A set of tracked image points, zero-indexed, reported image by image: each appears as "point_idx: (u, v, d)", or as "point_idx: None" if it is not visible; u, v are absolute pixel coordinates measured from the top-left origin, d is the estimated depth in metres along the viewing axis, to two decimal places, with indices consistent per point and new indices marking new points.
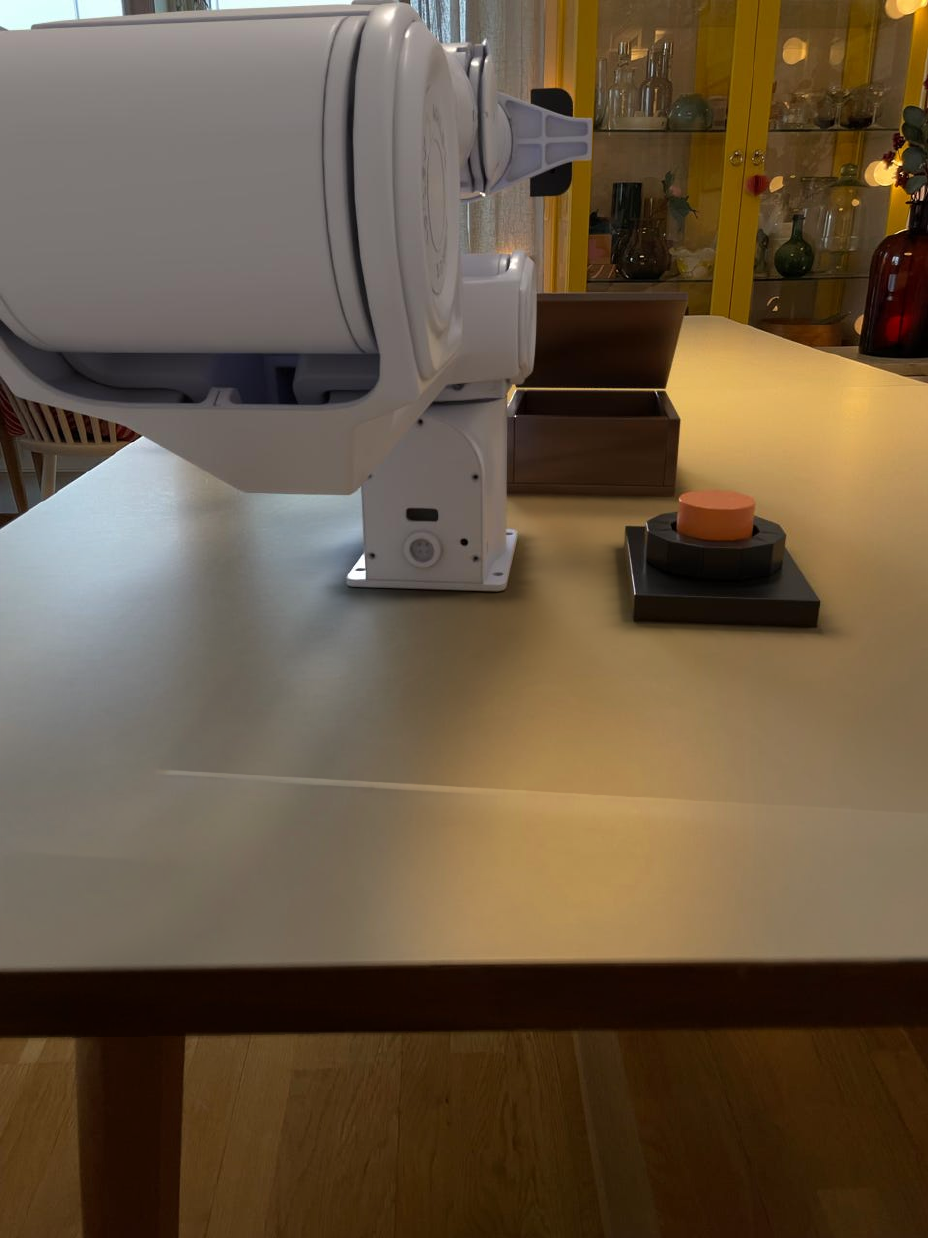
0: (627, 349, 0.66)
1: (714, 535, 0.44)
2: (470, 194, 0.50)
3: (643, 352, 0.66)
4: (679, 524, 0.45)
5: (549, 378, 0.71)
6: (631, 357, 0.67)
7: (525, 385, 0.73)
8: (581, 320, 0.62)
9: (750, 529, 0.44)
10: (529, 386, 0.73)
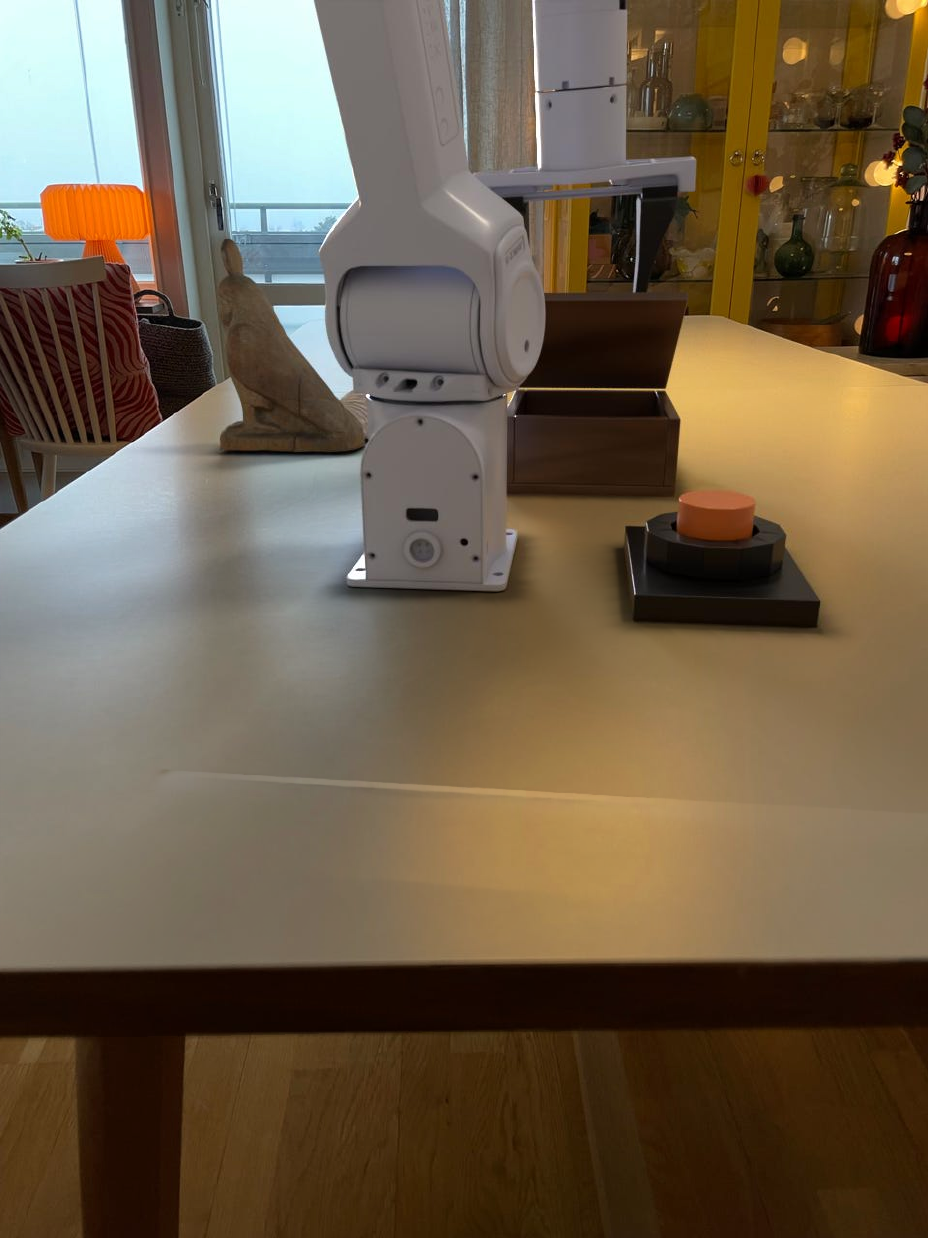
0: (627, 349, 0.66)
1: (714, 535, 0.44)
2: (595, 101, 0.57)
3: (643, 352, 0.66)
4: (679, 524, 0.45)
5: (549, 378, 0.71)
6: (631, 357, 0.67)
7: (525, 385, 0.73)
8: (581, 320, 0.62)
9: (750, 529, 0.44)
10: (529, 386, 0.73)
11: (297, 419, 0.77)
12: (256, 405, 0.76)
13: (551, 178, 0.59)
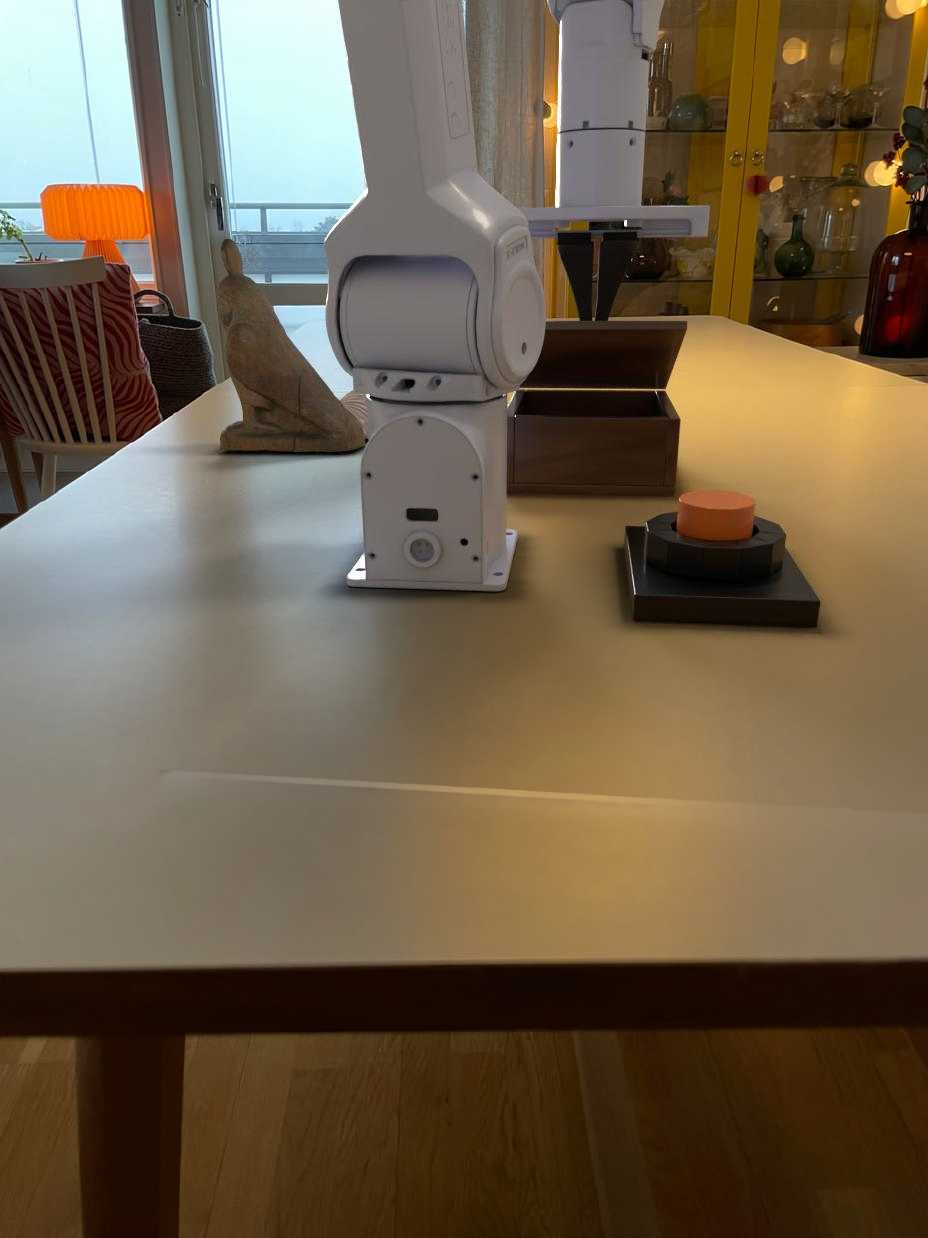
0: (627, 362, 0.66)
1: (714, 535, 0.44)
2: (615, 141, 0.59)
3: (643, 365, 0.66)
4: (679, 524, 0.45)
5: (549, 381, 0.71)
6: (631, 368, 0.67)
7: (525, 386, 0.73)
8: (580, 342, 0.62)
9: (750, 529, 0.44)
10: (529, 387, 0.73)
11: (297, 419, 0.77)
12: (256, 405, 0.76)
13: (568, 213, 0.61)
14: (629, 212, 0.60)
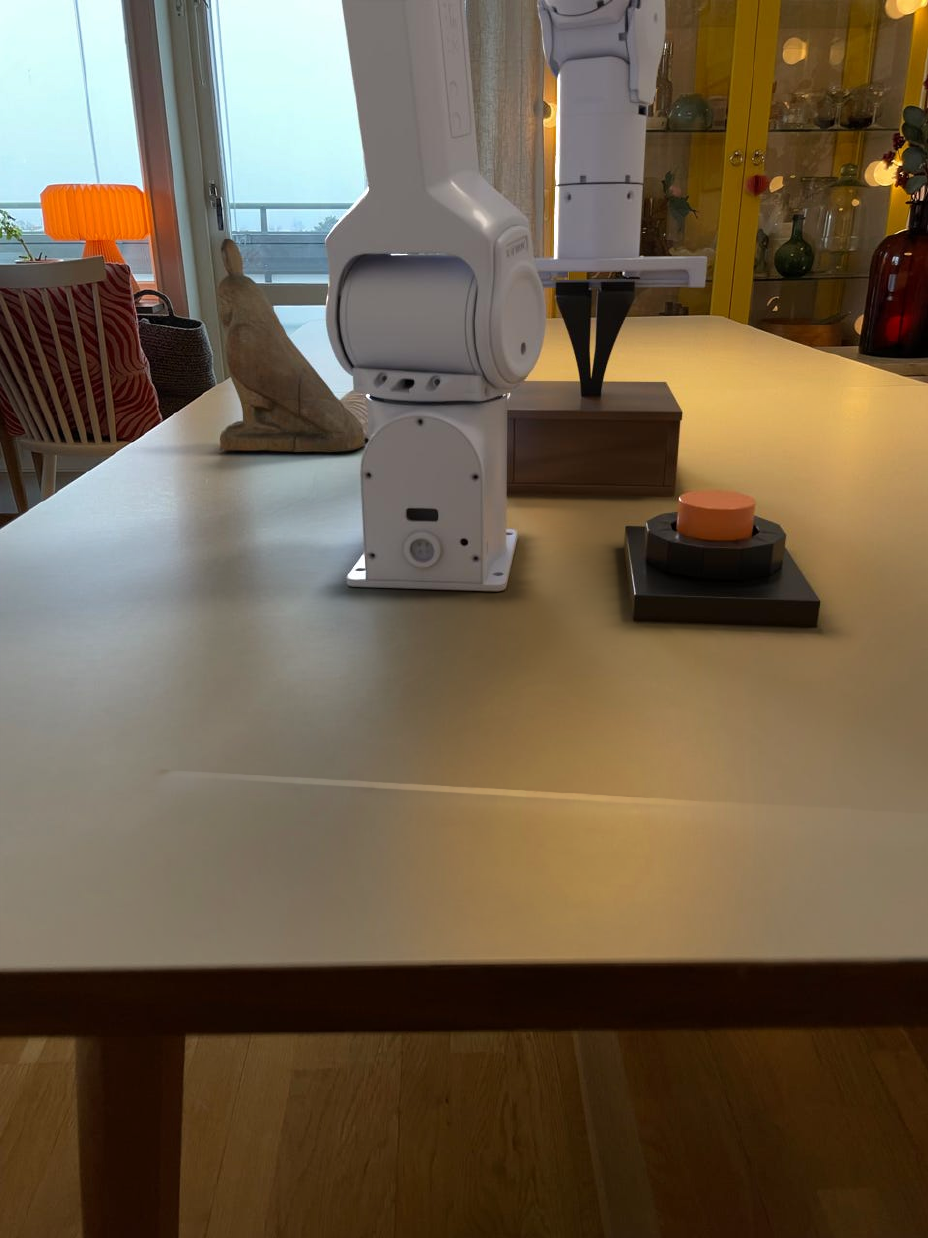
0: None
1: (714, 535, 0.44)
2: (613, 195, 0.59)
3: None
4: (679, 524, 0.45)
5: None
6: None
7: None
8: None
9: (750, 529, 0.44)
10: None
11: (297, 419, 0.77)
12: (256, 405, 0.76)
13: (567, 265, 0.61)
14: (627, 264, 0.61)
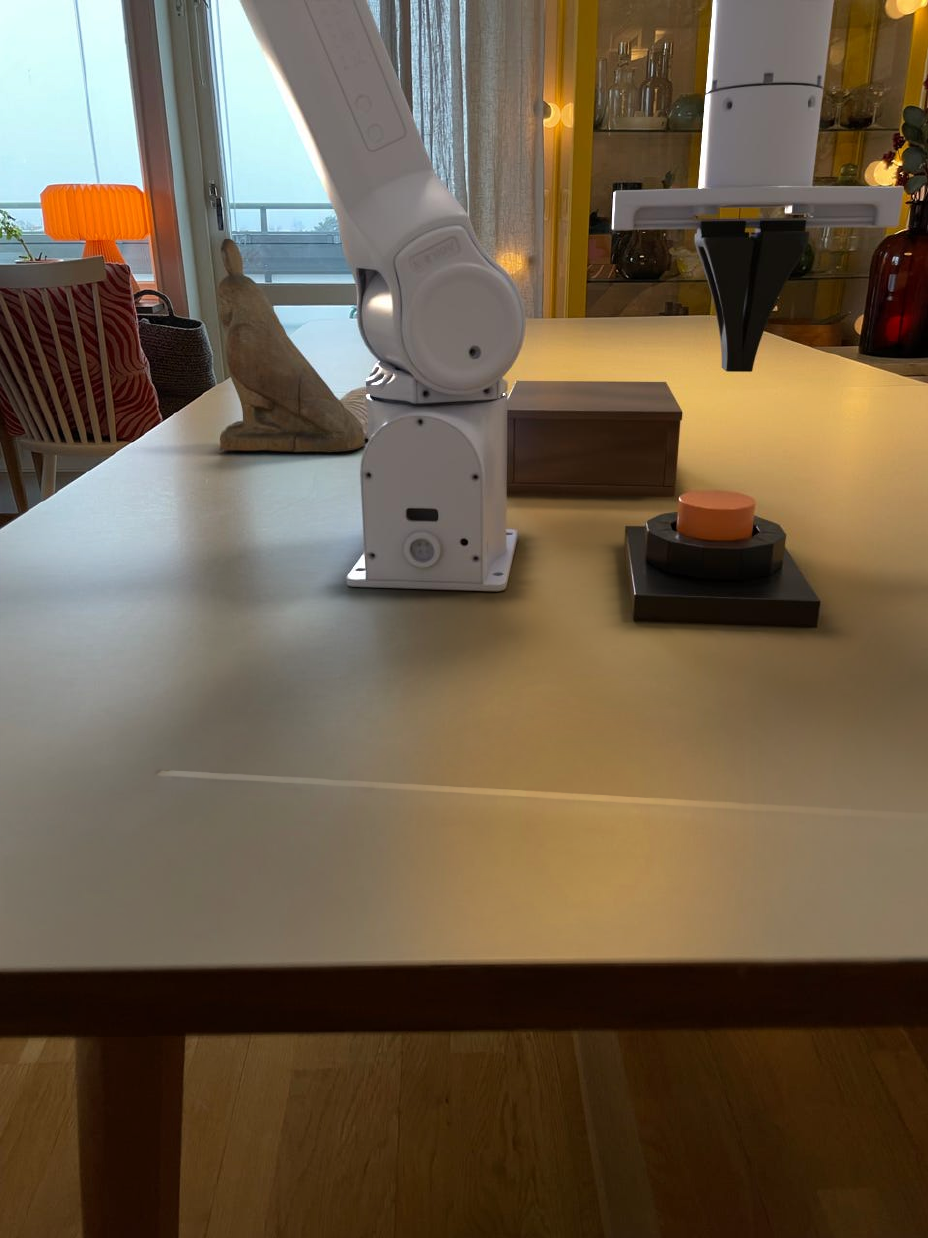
0: None
1: (714, 535, 0.44)
2: (791, 101, 0.45)
3: None
4: (679, 524, 0.45)
5: None
6: None
7: None
8: None
9: (750, 529, 0.44)
10: None
11: (297, 419, 0.77)
12: (256, 405, 0.76)
13: (723, 195, 0.47)
14: (803, 194, 0.47)
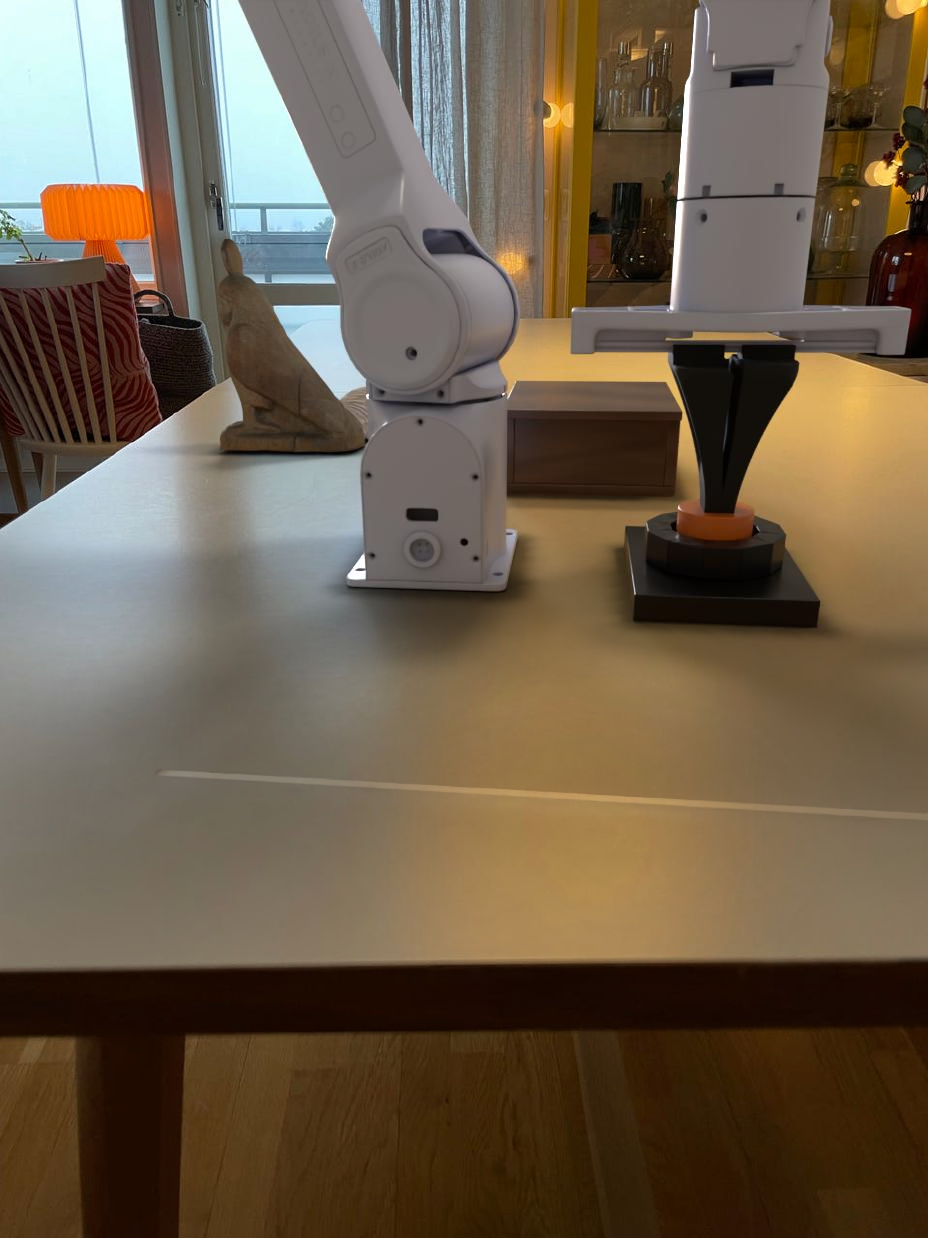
0: None
1: None
2: (776, 216, 0.38)
3: None
4: None
5: None
6: None
7: None
8: None
9: None
10: None
11: (297, 419, 0.77)
12: (256, 405, 0.76)
13: (697, 322, 0.40)
14: (791, 321, 0.39)
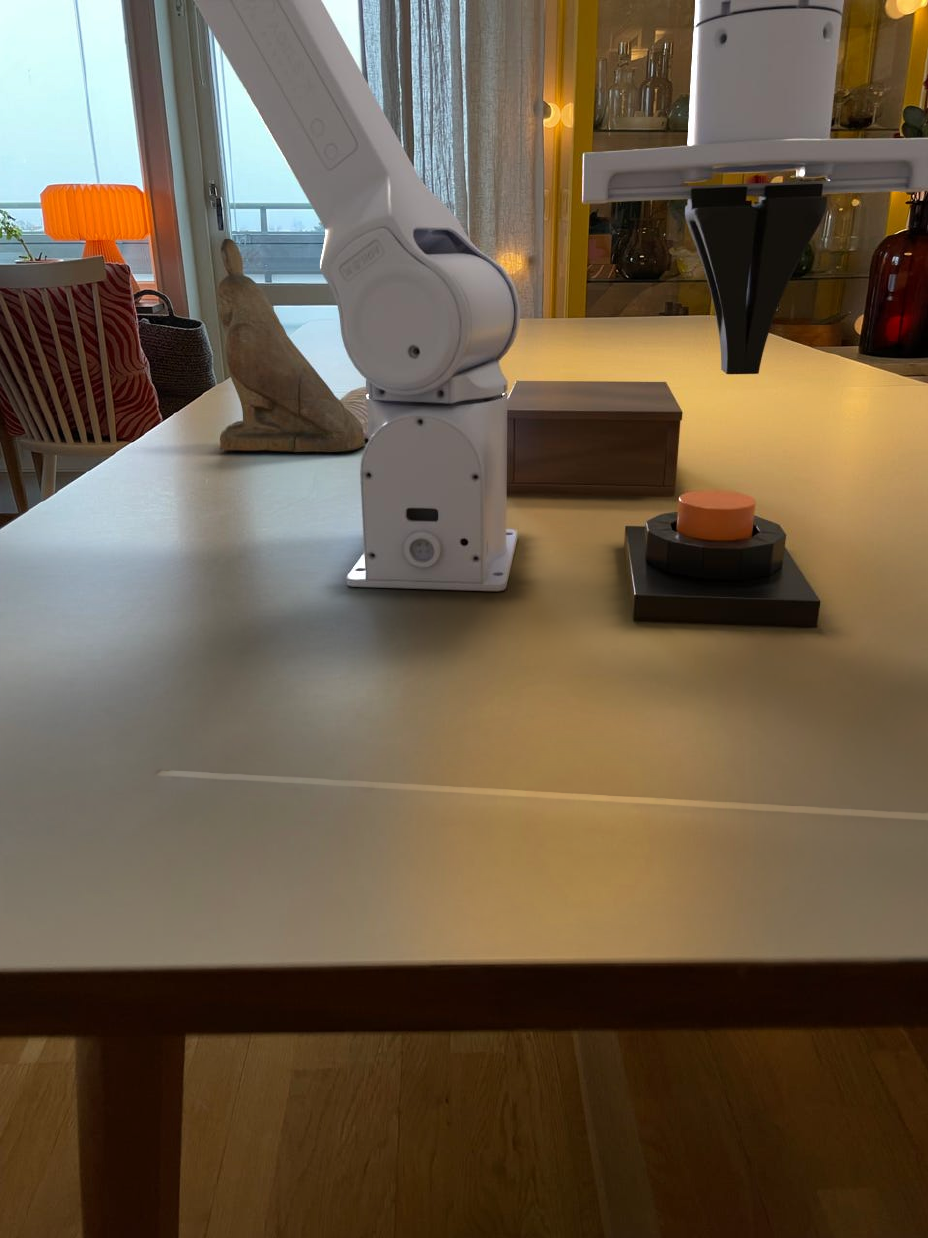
0: None
1: (714, 535, 0.44)
2: (802, 29, 0.35)
3: None
4: (679, 524, 0.45)
5: None
6: None
7: None
8: None
9: (750, 529, 0.44)
10: None
11: (297, 419, 0.77)
12: (256, 405, 0.76)
13: (717, 154, 0.37)
14: (818, 149, 0.37)
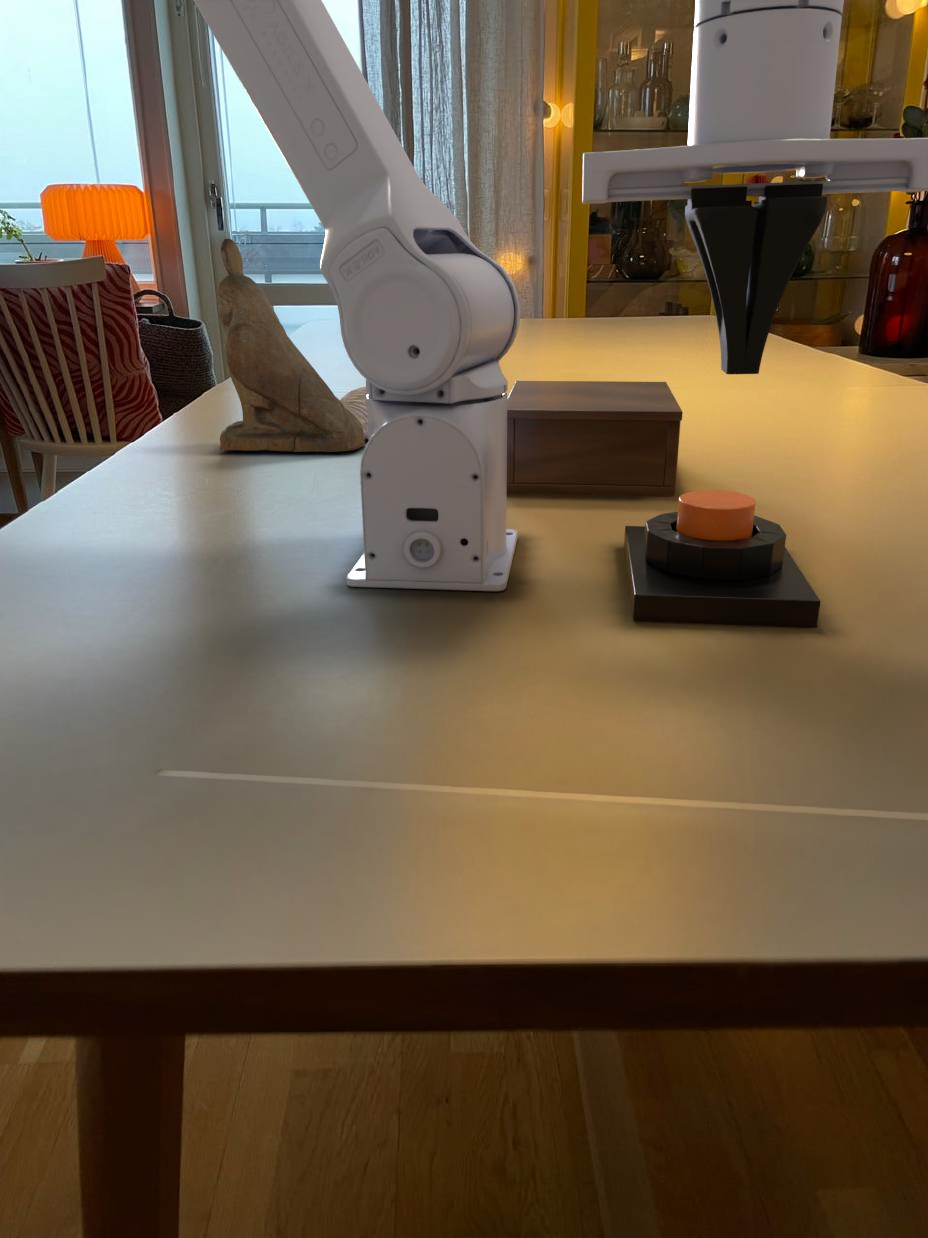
0: None
1: (714, 535, 0.44)
2: (802, 29, 0.35)
3: None
4: (679, 524, 0.45)
5: None
6: None
7: None
8: None
9: (750, 529, 0.44)
10: None
11: (297, 419, 0.77)
12: (256, 405, 0.76)
13: (717, 154, 0.37)
14: (818, 149, 0.37)
